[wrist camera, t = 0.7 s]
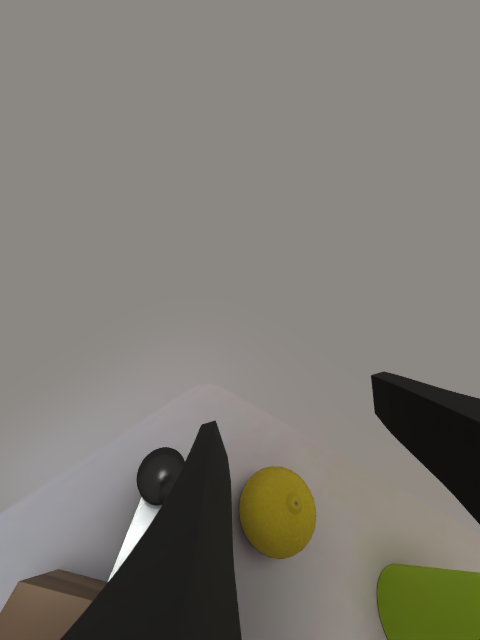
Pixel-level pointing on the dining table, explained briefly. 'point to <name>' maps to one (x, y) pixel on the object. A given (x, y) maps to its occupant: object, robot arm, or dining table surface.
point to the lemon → (277, 512)
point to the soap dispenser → (429, 603)
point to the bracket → (47, 605)
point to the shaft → (150, 494)
